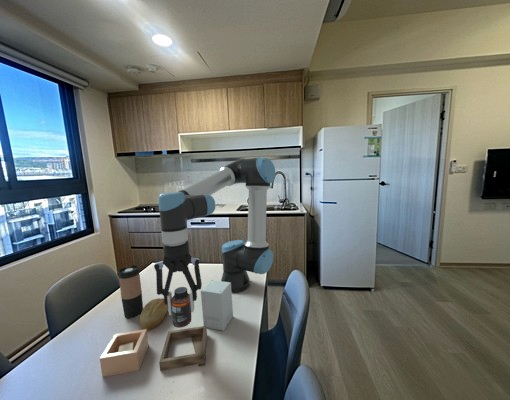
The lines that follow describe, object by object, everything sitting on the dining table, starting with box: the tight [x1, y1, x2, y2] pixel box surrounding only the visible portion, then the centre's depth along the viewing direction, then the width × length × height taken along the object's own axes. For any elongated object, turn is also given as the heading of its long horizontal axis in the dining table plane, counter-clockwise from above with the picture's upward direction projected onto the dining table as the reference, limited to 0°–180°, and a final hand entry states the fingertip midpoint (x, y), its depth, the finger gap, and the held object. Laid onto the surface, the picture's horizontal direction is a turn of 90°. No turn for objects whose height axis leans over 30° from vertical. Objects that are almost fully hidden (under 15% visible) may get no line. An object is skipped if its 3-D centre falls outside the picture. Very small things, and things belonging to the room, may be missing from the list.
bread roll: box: [139, 297, 169, 331], centre depth 91 cm, size 10×15×8 cm, turn 3°
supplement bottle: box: [171, 286, 192, 329], centre depth 72 cm, size 6×6×11 cm
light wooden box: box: [99, 329, 149, 378], centre depth 71 cm, size 10×10×7 cm
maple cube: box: [118, 342, 134, 352], centre depth 71 cm, size 4×4×4 cm
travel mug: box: [117, 264, 144, 319], centre depth 96 cm, size 8×8×20 cm
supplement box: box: [200, 279, 234, 331], centre depth 88 cm, size 9×9×15 cm
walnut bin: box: [158, 325, 208, 371], centre depth 74 cm, size 13×13×4 cm
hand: (182, 311), depth 73 cm, fingers closed on supplement bottle, 6 cm apart
